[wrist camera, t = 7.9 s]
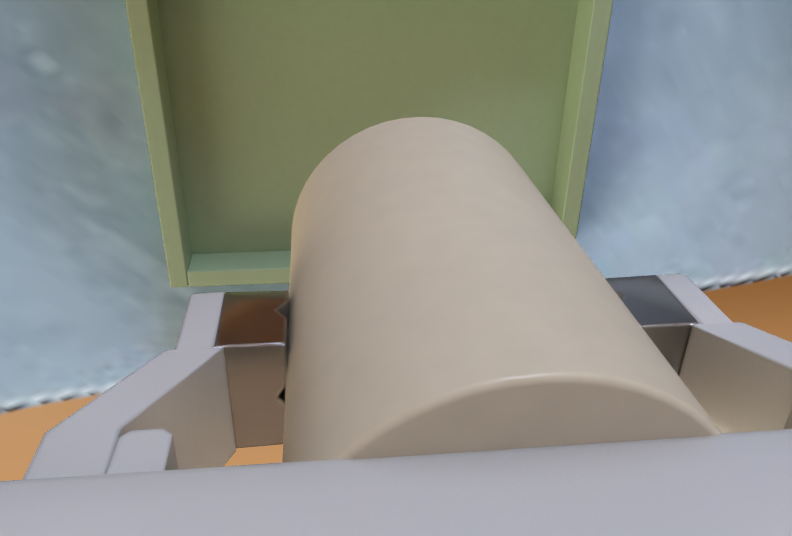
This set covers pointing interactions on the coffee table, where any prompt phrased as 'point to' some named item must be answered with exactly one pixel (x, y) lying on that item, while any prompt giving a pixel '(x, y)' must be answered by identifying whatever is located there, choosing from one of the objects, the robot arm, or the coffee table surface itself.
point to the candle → (456, 311)
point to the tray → (344, 105)
